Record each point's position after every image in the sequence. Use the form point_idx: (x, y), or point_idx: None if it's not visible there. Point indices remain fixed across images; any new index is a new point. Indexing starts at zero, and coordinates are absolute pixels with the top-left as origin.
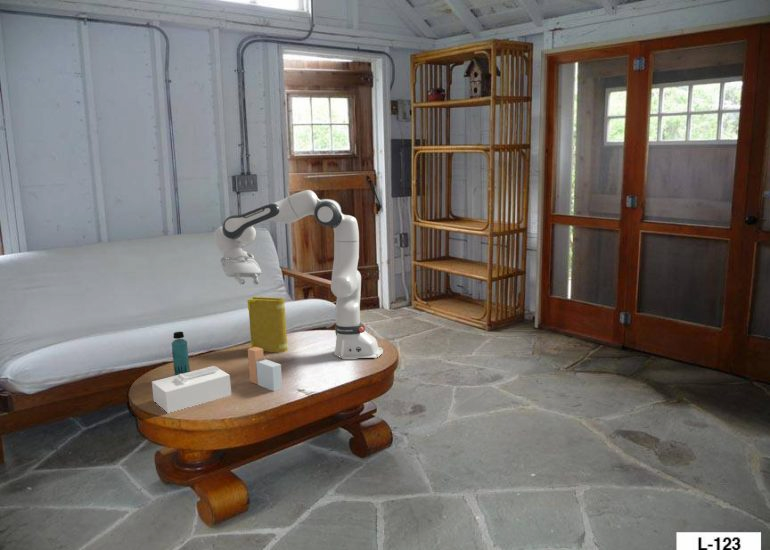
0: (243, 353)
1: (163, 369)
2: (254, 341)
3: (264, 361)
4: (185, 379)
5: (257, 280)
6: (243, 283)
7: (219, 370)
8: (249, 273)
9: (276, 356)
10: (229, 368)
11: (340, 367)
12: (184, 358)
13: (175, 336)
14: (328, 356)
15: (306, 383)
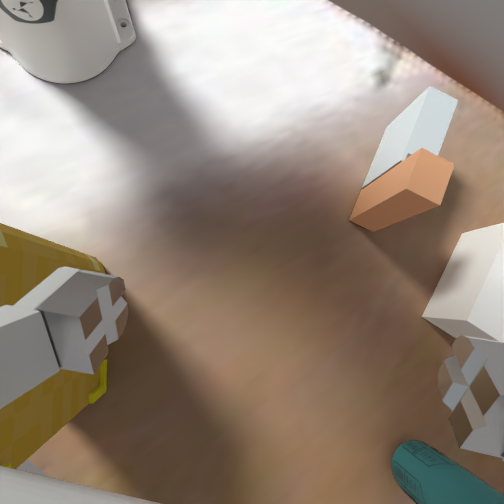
0: (141, 404)
1: None
2: (89, 386)
3: (422, 147)
4: None
5: (65, 289)
6: (462, 355)
7: (494, 274)
8: (113, 501)
9: (148, 263)
10: (295, 359)
11: (203, 29)
12: (466, 470)
13: None
14: (112, 92)
15: (339, 80)
